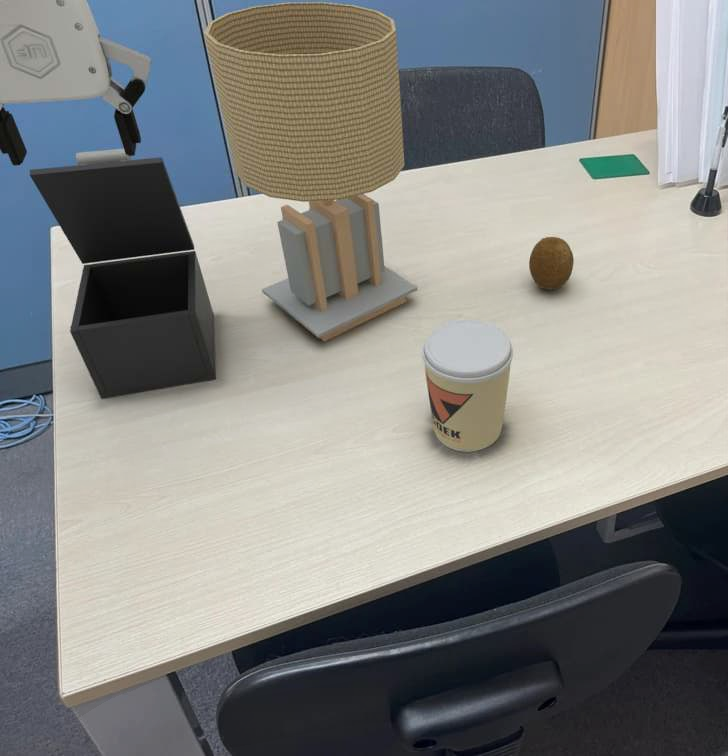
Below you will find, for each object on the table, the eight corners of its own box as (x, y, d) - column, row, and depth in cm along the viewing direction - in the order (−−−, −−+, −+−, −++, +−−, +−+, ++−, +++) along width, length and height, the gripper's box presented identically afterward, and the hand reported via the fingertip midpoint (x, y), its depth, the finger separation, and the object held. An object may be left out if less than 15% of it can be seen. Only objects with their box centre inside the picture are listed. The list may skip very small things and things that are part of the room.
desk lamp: (358, 250, 108) (328, -7, 85) (442, 306, 98) (434, 31, 75) (241, 299, 97) (170, 21, 74) (321, 367, 87) (268, 70, 64)
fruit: (536, 271, 105) (540, 223, 100) (576, 281, 103) (582, 233, 98) (521, 293, 101) (524, 243, 96) (562, 304, 99) (567, 254, 94)
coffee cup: (410, 420, 81) (404, 337, 73) (477, 388, 85) (478, 306, 77) (457, 470, 75) (455, 386, 67) (525, 434, 80) (532, 351, 72)
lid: (162, 162, 75) (159, 130, 77) (29, 175, 72) (30, 141, 74) (194, 249, 88) (191, 220, 90) (82, 264, 85) (81, 233, 87)
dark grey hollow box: (216, 379, 85) (195, 312, 79) (101, 399, 82) (69, 331, 75) (213, 314, 95) (195, 250, 88) (110, 329, 91) (83, 264, 85)
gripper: (-142, -40, 52) (-36, 180, 63) (116, -44, 57) (172, 162, 68) (-110, -58, 57) (-18, 147, 68) (123, -61, 62) (174, 132, 73)
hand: (77, 154), depth 68 cm, fingers open, 9 cm apart
